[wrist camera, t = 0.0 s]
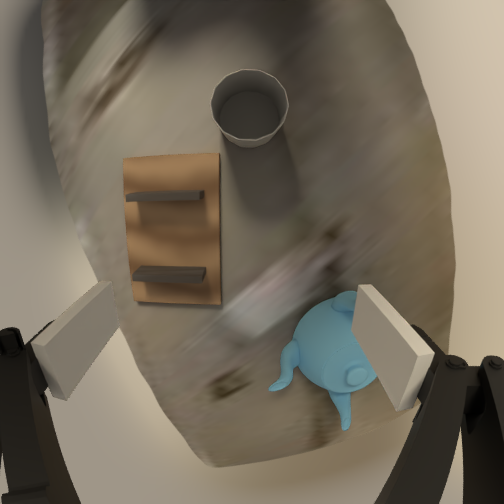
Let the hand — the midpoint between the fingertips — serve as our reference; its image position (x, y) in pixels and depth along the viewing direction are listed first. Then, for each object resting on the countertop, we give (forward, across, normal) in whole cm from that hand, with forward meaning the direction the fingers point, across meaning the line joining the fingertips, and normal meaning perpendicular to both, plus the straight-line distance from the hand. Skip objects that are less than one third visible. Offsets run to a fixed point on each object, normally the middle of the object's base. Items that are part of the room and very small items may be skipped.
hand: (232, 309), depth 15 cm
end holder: (+28, -10, -2) cm, 30 cm away
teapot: (+28, +15, -19) cm, 37 cm away
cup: (+28, +1, +14) cm, 32 cm away
